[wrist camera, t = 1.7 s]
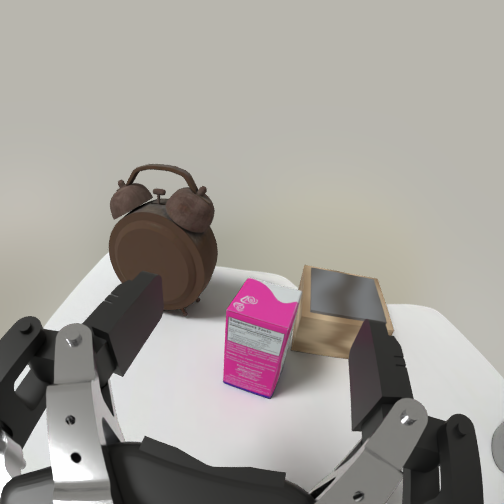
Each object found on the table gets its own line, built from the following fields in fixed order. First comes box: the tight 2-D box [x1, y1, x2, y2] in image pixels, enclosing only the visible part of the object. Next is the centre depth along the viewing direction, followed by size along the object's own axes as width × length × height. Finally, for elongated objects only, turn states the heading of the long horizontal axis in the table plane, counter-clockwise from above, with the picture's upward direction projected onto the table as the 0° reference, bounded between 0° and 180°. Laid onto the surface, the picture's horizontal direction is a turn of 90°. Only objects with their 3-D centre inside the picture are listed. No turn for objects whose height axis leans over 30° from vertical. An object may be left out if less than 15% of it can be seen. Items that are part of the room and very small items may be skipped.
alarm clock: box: [109, 164, 218, 316], centre depth 35 cm, size 14×7×20 cm, turn 79°
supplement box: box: [223, 277, 302, 399], centre depth 27 cm, size 6×6×12 cm
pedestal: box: [291, 265, 394, 359], centre depth 37 cm, size 12×12×6 cm
